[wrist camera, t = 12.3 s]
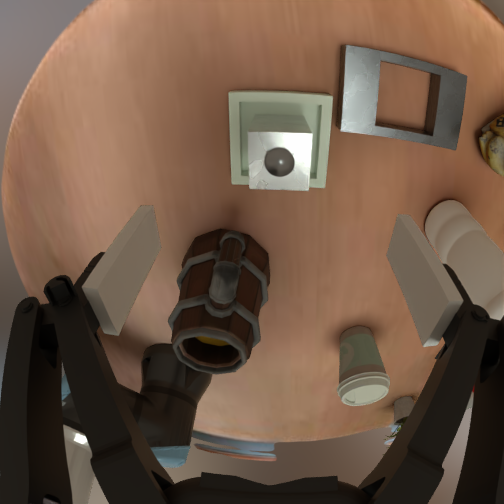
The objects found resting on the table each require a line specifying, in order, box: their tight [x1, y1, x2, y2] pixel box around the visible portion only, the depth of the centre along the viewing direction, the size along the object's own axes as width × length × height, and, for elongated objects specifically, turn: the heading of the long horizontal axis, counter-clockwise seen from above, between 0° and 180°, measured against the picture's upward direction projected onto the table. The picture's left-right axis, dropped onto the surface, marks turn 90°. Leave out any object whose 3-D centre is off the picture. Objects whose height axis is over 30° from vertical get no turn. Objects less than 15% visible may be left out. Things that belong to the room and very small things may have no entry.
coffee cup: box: [337, 326, 390, 406], centre depth 44 cm, size 8×9×12 cm
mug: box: [168, 229, 270, 374], centre depth 34 cm, size 16×12×15 cm
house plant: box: [384, 396, 415, 455], centre depth 59 cm, size 14×14×16 cm
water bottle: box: [425, 200, 504, 320], centre depth 24 cm, size 7×7×25 cm
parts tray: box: [229, 90, 333, 188], centre depth 29 cm, size 10×10×2 cm
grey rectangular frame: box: [336, 45, 467, 150], centre depth 25 cm, size 14×9×2 cm, turn 90°
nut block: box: [248, 114, 312, 191], centre depth 26 cm, size 5×5×8 cm
